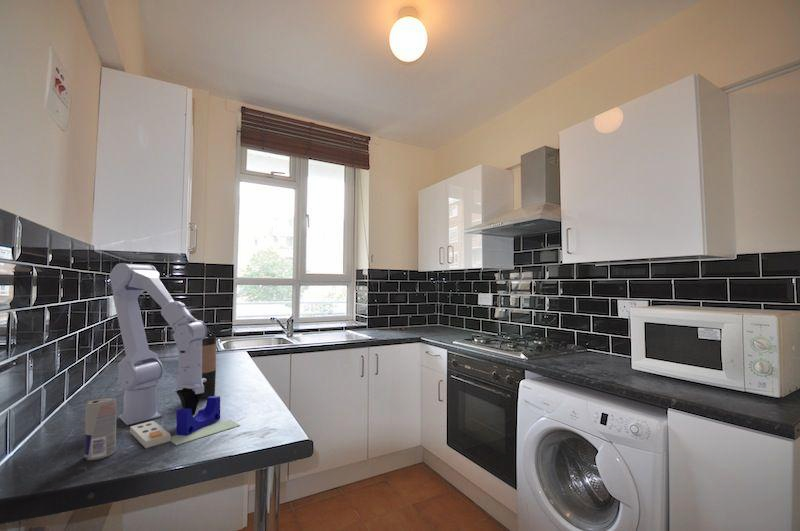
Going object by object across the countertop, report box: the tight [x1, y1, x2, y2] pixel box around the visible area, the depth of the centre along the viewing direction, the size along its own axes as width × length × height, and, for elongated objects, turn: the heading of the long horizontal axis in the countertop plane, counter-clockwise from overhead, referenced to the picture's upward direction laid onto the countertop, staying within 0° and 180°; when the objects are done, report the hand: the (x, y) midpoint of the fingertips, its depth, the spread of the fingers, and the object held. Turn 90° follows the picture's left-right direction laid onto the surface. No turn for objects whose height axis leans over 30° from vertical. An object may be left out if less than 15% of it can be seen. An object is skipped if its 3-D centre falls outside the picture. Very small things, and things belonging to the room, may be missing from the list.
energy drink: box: [83, 396, 118, 461], centre depth 80 cm, size 5×5×12 cm
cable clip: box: [175, 395, 221, 436], centre depth 95 cm, size 12×4×6 cm, turn 168°
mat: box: [169, 419, 241, 446], centre depth 91 cm, size 6×15×1 cm, turn 139°
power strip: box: [129, 420, 171, 449], centre depth 89 cm, size 14×5×2 cm, turn 49°
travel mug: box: [199, 334, 217, 401], centre depth 121 cm, size 8×8×20 cm
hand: (189, 415), depth 99 cm, fingers closed
